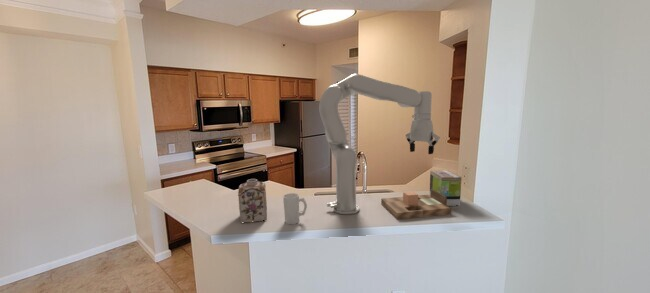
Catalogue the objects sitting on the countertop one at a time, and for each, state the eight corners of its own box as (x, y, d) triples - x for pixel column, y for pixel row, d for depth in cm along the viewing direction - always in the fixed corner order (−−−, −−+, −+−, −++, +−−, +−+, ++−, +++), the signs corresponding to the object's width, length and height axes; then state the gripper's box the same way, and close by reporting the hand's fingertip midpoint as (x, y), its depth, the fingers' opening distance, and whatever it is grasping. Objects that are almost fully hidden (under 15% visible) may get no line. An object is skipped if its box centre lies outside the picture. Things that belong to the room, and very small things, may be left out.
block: (407, 205, 122) (408, 195, 121) (403, 201, 127) (403, 192, 126) (417, 204, 123) (418, 194, 122) (412, 201, 128) (412, 191, 127)
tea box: (460, 206, 127) (462, 176, 125) (440, 206, 128) (441, 177, 126) (447, 196, 142) (448, 169, 140) (428, 196, 143) (429, 170, 140)
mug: (283, 225, 112) (282, 198, 111) (285, 218, 119) (284, 193, 117) (306, 224, 112) (305, 197, 111) (307, 218, 119) (306, 192, 117)
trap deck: (397, 219, 114) (397, 204, 113) (381, 204, 133) (381, 191, 132) (451, 214, 118) (451, 199, 117) (428, 200, 137) (428, 187, 136)
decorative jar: (267, 211, 128) (265, 175, 126) (267, 220, 117) (264, 182, 115) (242, 214, 126) (239, 178, 123) (239, 224, 115) (236, 184, 112)
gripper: (402, 117, 129) (401, 151, 131) (435, 118, 116) (434, 155, 118) (410, 117, 134) (409, 150, 136) (443, 117, 120) (442, 153, 123)
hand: (421, 152), depth 127 cm, fingers open, 9 cm apart
